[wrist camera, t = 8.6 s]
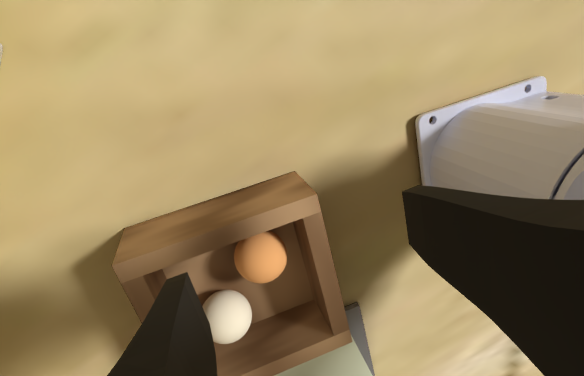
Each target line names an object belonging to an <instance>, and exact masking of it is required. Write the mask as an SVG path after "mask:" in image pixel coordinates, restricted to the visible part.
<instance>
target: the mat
mask: <svg viewBox="0 0 584 376" xmlns="http://www.w3.org/2000/svg"><path fill="white" fill-rule="evenodd" d="M344 308H345V312H346V317H347V321H348V325H349V329H350V333H351V336H352V337H353V339H354V341H355V343H356V345H357V347H358V349H359V351H360V353H361V355H362V356H363V358H364V360H365V362H366V364H367V366H368V368H369V370H370V372H371V374H372V375H373V376H375V374H374V370H373V365H372V361H371V356H370V351H369V347H368V342H367V338H366V333H365V329H364V324H363V319H362V315H361V310H360V306H359V304H358V303H357V302H356V303H354V304H351V305H349V306H346V307H344Z"/></svg>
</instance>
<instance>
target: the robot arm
mask: <svg viewBox="0 0 584 376" xmlns="http://www.w3.org/2000/svg"><path fill="white" fill-rule="evenodd" d="M546 85H547V82H546V78H545V77H543V76H536V77H533V78H530V79H527V80H523V81H520V82H517V83H514V84H511V85H508V86H505V87H502V88H499V89H496V90H493V91H490V92H487V93H484V94H481V95H478V96H475V97H472V98H469V99H466V100H463V101H460V102H456V103H453V104H450V105H447V106H444V107H441V108H438V109H435V110H432V111H429V112H426V113H423V114H421V115H419V116H418V117H417V118H416V121H415V126H416V135H417V144H418V153H419V162H420V170H421V179H422V186H420V185H419V186H416V187H413V188H410V189H408V190H405V191H402V195H403V202H404V209H405V217H406V224H407V231H408V239H409V244H410V245H411V246H412V248H413V249H414V250H415V251H416V252H417V253H418V255H419V256H420V257H421V258H422V259H423V260H424V261H425V262H426V263H427V264H428V265H429V266H430V267H431V268H432V269H433V270H434V271H435V272H437V273H438V274H439V275H440V276H441V277H442V278H443V279H445V280H446V281H447V282H448V283H449V284H451V285H452V286H453V287H454V288H455V289H457V290H458V291H459V292H460V293H461V294H462V295H464V296H465V297H466V298H467V299H468V300H470V301H471V302H472V303H473V304H474V305H476V306H477V307H478V308H479V309H480V310H481V311H483V312H484V313H485V314H486V315H487V316H488V317H489V318H490V319H491V320H492V321H493V322H494V323H495V324H496V325H497V326H498V327H499V328H500V329H501V330H502V331H503V332H504V333H505V334H506V335H507V336H508V337H509V338H510V339H511V340H512V341H513V342H514V343H515V344H516V345H517V346H518V347H519V348H520V350H521V351H522V352H523V353H524V354H525V355H526V356H527V357H528V358H529V359H530V361H531V362H532V363H533V364H534V365H535V366H536V367H537V368H538V369H539V370H540V371H541V373H542V374H543V375H544V376H584V95H579V94H569V93H558V92H547V91H546ZM525 87H526V90H525ZM430 117H433V120H432V122H431V123H429V119H430ZM107 376H217V363H216V352H215V347H214V342H213V337H212V332H211V327H210V323H209V321H208V319H207V316H206V314H205V312H204V310H203V307H202V305H201V303H200V300H199V298H198V296H197V293H196V291H195V289H194V287H193V284H192V282H191V280H190V277H189V275H188V273H187V272H185V273H182V274H180V275H177V276H174V277H172V278H169V279H167V280H166V281H165V283H164V285H163V287H162V289H161V290H160V292H159V294H158V296H157V298H156V300H155V301H154V303H153V305H152V307H151V309H150V311H149V312H148V314H147V316H146V318H145V319H144V321H143V323H142V325H141V326H140V328H139V330H138V331H137V333H136V334H135V336H134V337H133V339H132V341H131V342H130V344H129V345H128V347H127V348H126V350H125V351H124V353H123V355H122V356H121V357H120V359H119V360H118V362H117V363H116V365H115V366H114V367H113V369H112V370H111V371H110V373H109V374H108V375H107Z"/></svg>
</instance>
